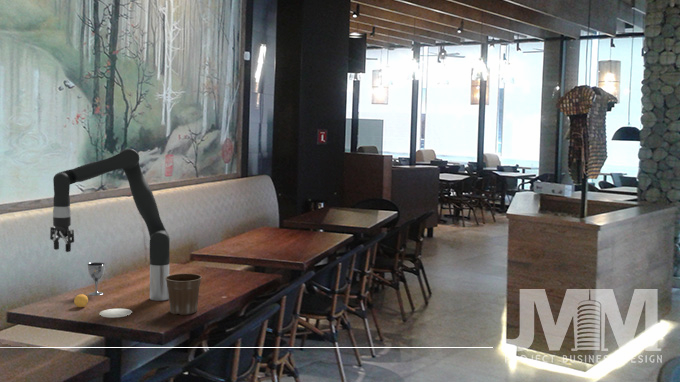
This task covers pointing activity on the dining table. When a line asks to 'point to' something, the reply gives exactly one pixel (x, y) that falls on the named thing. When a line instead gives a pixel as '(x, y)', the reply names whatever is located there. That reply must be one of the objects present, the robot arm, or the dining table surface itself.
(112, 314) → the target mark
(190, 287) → the plant pot
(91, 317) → the dining table surface
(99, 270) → the wine glass
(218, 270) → the dining table surface
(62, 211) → the robot arm
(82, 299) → the ball
